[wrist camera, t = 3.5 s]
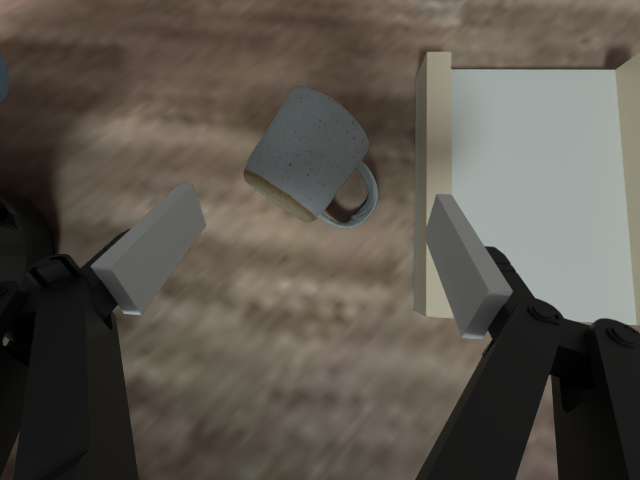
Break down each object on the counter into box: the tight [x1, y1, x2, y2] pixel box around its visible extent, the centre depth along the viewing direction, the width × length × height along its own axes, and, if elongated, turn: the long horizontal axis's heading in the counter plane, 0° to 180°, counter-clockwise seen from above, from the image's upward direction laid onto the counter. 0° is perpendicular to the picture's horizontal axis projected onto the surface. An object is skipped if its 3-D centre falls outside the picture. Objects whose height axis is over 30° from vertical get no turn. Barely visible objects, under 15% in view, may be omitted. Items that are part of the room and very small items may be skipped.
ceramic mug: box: [244, 86, 378, 228], centre depth 22 cm, size 11×8×8 cm
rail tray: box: [414, 52, 640, 325], centre depth 23 cm, size 19×22×3 cm
